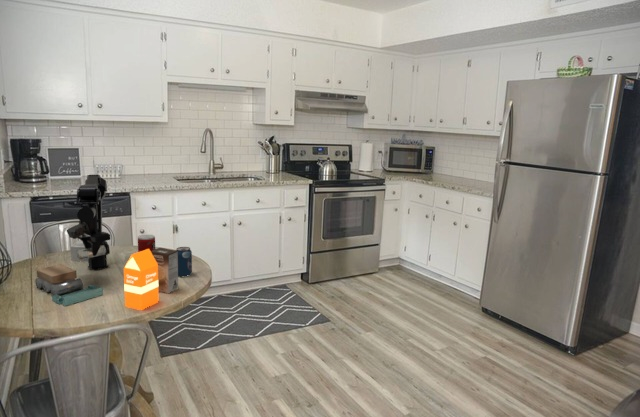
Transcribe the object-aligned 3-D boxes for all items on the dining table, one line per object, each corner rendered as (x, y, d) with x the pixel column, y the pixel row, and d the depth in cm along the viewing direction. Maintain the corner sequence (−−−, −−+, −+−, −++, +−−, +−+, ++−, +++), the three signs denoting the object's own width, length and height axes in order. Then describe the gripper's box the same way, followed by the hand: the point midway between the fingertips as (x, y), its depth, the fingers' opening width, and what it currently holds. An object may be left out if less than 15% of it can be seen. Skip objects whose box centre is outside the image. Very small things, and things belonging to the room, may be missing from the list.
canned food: (149, 261, 208) (149, 239, 206) (134, 259, 209) (134, 237, 207) (158, 257, 215) (158, 235, 213) (144, 255, 217) (143, 233, 215)
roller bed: (68, 279, 181) (67, 269, 180) (104, 294, 167) (103, 283, 166) (29, 289, 169) (28, 278, 168) (63, 306, 155) (63, 295, 154)
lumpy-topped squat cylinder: (104, 259, 209) (103, 241, 207) (73, 263, 201) (71, 245, 200) (99, 253, 217) (98, 236, 215) (69, 257, 209) (68, 239, 208)
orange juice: (124, 306, 157) (122, 253, 153) (142, 298, 165) (140, 247, 161) (142, 310, 154) (140, 256, 151) (159, 301, 162) (158, 249, 159)
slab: (61, 271, 178) (60, 264, 177) (76, 277, 171) (76, 270, 171) (37, 277, 170) (36, 269, 170) (52, 284, 164) (51, 276, 163)
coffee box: (149, 290, 173) (148, 251, 170) (160, 285, 179) (159, 247, 176) (168, 294, 170) (167, 254, 167) (179, 288, 176) (178, 250, 173)
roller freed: (101, 253, 184) (100, 244, 183) (106, 255, 182) (105, 246, 181) (77, 258, 175) (76, 249, 175) (82, 260, 173) (81, 251, 173)
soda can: (192, 276, 190) (192, 250, 188) (175, 278, 187) (175, 251, 185) (191, 271, 196) (191, 245, 194) (175, 272, 194) (174, 246, 192)
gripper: (56, 216, 174) (59, 254, 177) (82, 223, 164) (84, 263, 167) (84, 213, 183) (86, 249, 186) (110, 219, 173) (112, 257, 176)
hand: (91, 254), depth 178 cm, fingers closed on roller freed, 4 cm apart
